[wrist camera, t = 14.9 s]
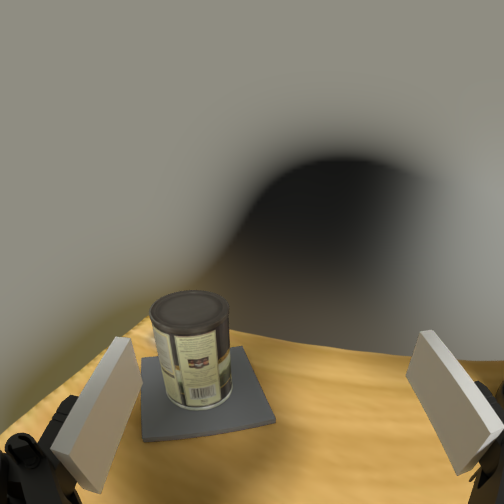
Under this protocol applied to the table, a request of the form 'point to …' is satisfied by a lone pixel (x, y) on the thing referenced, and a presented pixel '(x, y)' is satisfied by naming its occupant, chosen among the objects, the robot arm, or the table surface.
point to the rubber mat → (202, 421)
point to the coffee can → (193, 348)
